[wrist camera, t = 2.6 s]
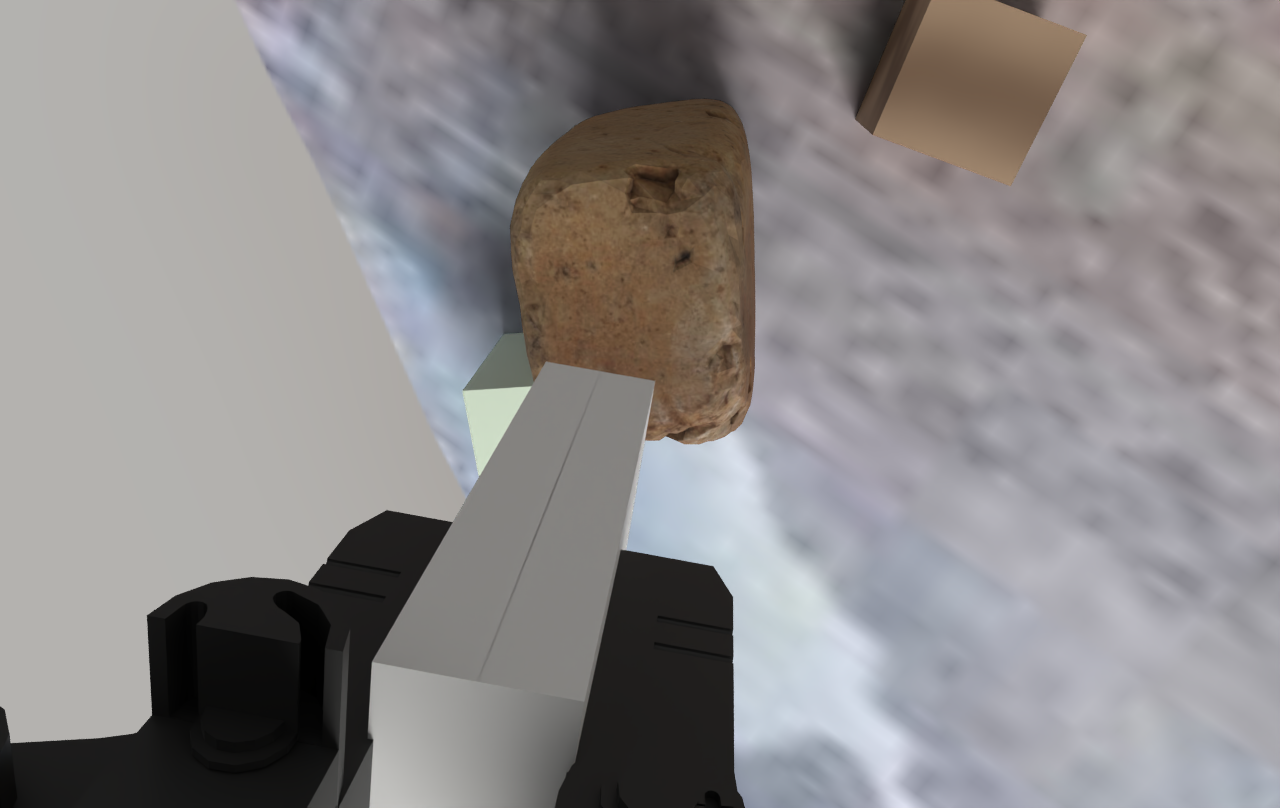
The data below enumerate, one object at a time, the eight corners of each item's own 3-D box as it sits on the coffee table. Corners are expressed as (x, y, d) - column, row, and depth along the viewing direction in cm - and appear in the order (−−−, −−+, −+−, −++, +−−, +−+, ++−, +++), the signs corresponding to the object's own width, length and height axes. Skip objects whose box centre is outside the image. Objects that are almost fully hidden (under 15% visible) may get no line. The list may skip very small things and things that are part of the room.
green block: (503, 333, 48) (462, 390, 41) (617, 325, 48) (595, 382, 40) (521, 438, 51) (485, 509, 43) (629, 431, 50) (611, 503, 43)
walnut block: (912, -17, 40) (939, -21, 35) (1039, 32, 41) (1086, 35, 35) (855, 119, 43) (872, 134, 37) (975, 164, 43) (1010, 186, 38)
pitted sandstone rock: (587, 98, 43) (479, 160, 25) (748, 88, 43) (759, 143, 24) (606, 320, 48) (525, 512, 29) (754, 314, 47) (766, 508, 28)
